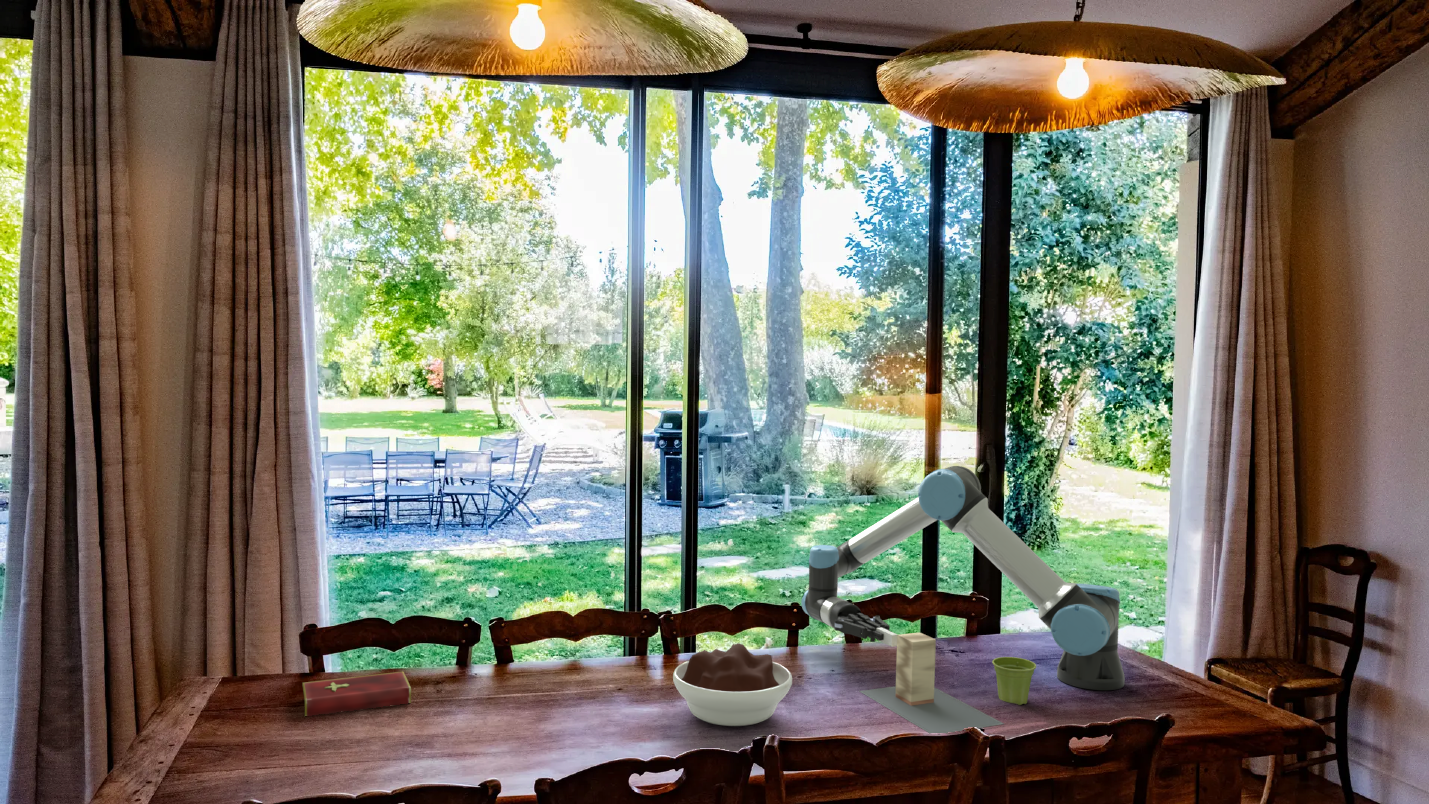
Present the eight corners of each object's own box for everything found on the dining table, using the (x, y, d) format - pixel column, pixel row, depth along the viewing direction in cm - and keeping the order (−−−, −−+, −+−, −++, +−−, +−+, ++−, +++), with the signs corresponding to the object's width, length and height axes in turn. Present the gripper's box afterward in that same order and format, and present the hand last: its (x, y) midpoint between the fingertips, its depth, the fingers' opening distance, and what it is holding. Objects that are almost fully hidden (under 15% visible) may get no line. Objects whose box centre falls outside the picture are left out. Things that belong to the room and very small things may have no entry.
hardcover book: (410, 706, 209) (411, 686, 209) (304, 719, 200) (304, 699, 200) (403, 688, 220) (403, 670, 220) (302, 700, 211) (302, 681, 211)
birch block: (895, 696, 218) (897, 634, 218) (917, 693, 221) (919, 632, 220) (911, 705, 213) (912, 642, 212) (933, 702, 215) (935, 639, 214)
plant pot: (1037, 710, 213) (1038, 671, 213) (992, 706, 215) (994, 667, 215) (1032, 696, 222) (1033, 658, 222) (989, 692, 224) (990, 655, 224)
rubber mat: (858, 693, 222) (858, 691, 221) (924, 684, 229) (924, 682, 229) (932, 738, 196) (933, 735, 196) (1004, 726, 203) (1004, 723, 203)
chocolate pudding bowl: (796, 741, 193) (798, 666, 192) (669, 739, 192) (671, 663, 192) (786, 698, 218) (787, 631, 217) (674, 696, 217) (675, 629, 217)
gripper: (863, 628, 248) (917, 654, 227) (818, 632, 243) (869, 659, 221) (864, 598, 248) (918, 622, 226) (819, 602, 243) (870, 627, 221)
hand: (894, 640), depth 224 cm, fingers closed
